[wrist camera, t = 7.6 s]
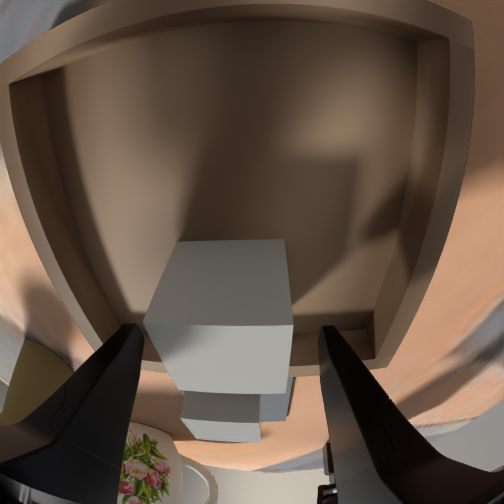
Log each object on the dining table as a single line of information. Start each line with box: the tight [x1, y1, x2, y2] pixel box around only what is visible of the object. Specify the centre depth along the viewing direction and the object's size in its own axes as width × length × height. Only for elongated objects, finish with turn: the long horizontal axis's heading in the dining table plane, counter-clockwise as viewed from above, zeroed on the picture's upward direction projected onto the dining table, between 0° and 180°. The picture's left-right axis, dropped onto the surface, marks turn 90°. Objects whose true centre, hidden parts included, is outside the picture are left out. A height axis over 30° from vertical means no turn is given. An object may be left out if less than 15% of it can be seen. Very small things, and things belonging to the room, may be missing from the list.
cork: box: [0, 340, 74, 426], centre depth 14 cm, size 6×6×11 cm
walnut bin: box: [0, 0, 475, 377], centre depth 9 cm, size 15×15×2 cm
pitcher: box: [117, 422, 218, 504], centre depth 22 cm, size 11×18×14 cm, turn 71°
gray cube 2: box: [180, 390, 262, 442], centre depth 14 cm, size 4×4×4 cm
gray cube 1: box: [143, 239, 293, 394], centre depth 10 cm, size 4×4×4 cm
